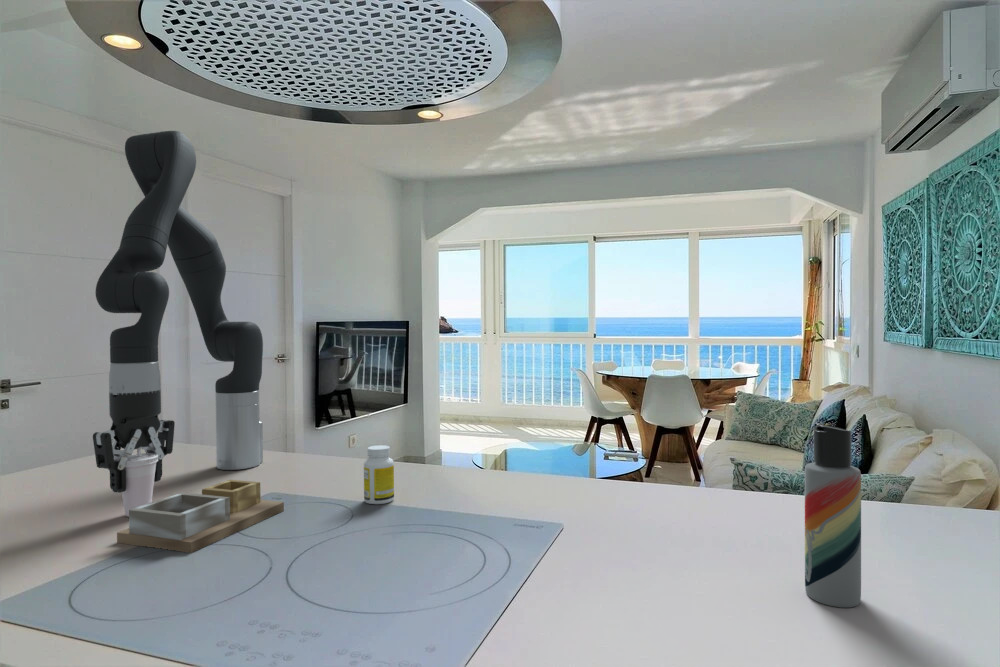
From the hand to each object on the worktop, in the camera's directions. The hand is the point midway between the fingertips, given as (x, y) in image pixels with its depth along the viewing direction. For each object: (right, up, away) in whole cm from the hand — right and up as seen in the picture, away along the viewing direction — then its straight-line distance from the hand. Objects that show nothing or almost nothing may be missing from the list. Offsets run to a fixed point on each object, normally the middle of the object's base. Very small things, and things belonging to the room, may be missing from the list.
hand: (137, 485), depth 101 cm
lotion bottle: (+101, -5, -33) cm, 106 cm away
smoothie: (0, -5, 0) cm, 5 cm away
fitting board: (+15, -5, -6) cm, 17 cm away
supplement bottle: (+40, -5, +7) cm, 41 cm away
